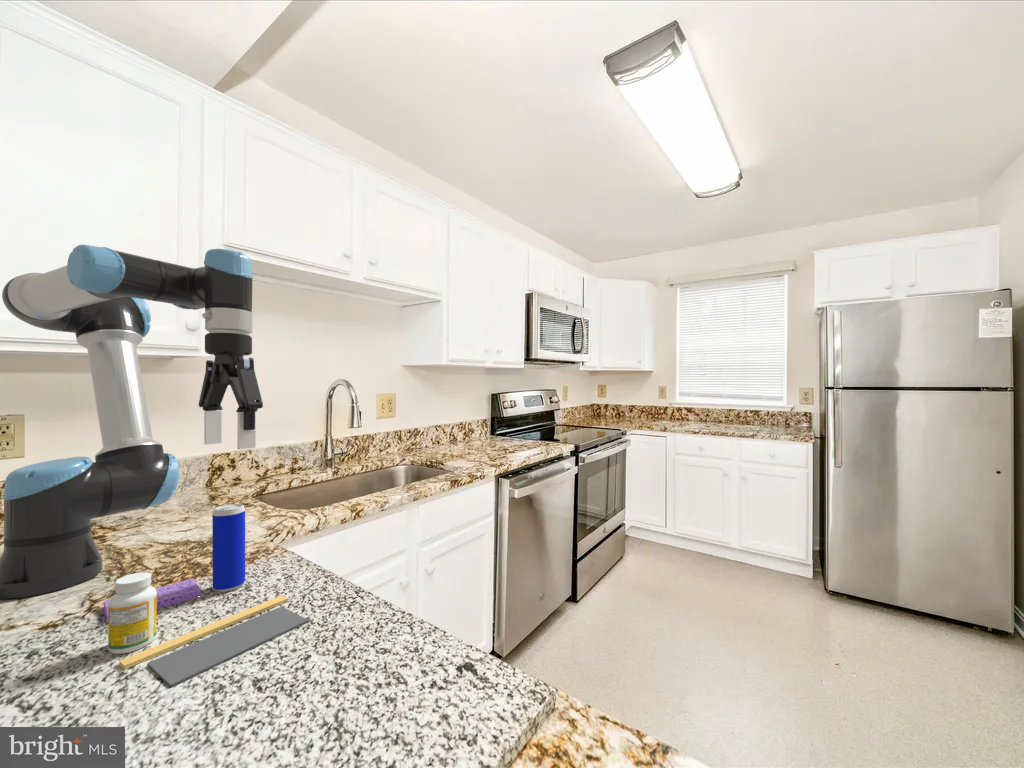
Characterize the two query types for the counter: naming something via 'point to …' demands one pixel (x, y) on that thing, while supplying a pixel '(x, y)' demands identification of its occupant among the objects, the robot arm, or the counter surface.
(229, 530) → the beverage can
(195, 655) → the mat
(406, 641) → the counter surface
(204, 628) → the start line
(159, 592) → the sponges
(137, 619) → the supplement bottle
